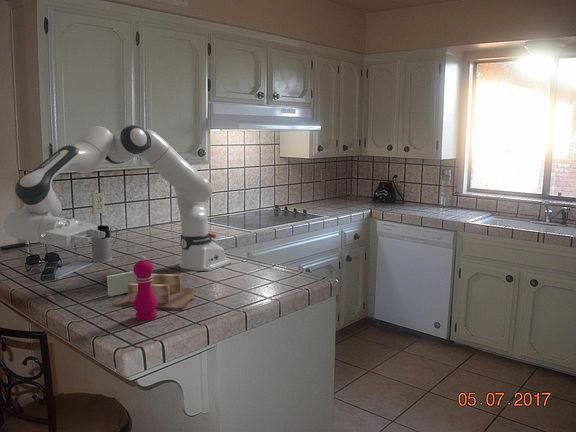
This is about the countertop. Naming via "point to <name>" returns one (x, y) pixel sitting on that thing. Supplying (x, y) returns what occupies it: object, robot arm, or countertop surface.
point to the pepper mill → (144, 291)
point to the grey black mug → (102, 245)
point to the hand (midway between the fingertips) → (97, 237)
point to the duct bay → (163, 292)
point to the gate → (120, 283)
